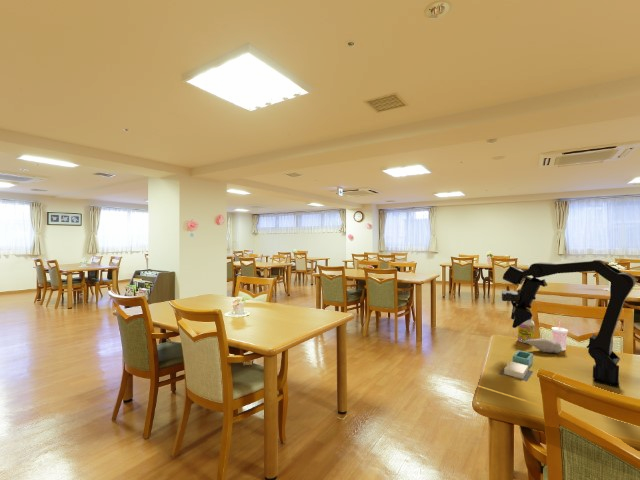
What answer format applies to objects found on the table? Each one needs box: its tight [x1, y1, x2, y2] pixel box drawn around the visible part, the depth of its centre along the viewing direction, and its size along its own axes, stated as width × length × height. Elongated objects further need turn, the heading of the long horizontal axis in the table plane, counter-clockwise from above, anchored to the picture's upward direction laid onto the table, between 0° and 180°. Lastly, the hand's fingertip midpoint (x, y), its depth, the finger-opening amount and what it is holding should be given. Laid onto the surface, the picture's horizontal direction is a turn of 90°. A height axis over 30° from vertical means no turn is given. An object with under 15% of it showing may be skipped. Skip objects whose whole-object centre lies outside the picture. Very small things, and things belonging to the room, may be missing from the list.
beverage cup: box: [551, 317, 569, 351], centre depth 148 cm, size 6×6×14 cm
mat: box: [498, 364, 534, 382], centre depth 122 cm, size 9×11×1 cm
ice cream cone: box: [523, 337, 562, 354], centre depth 144 cm, size 6×6×15 cm
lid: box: [503, 361, 529, 379], centre depth 122 cm, size 6×9×2 cm, turn 137°
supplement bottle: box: [517, 316, 536, 345], centre depth 157 cm, size 7×7×13 cm
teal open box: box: [512, 349, 534, 370], centre depth 130 cm, size 5×8×4 cm, turn 137°
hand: (512, 323), depth 139 cm, fingers open, 9 cm apart
